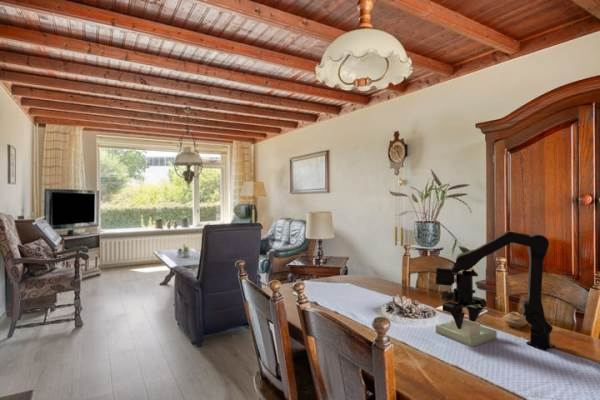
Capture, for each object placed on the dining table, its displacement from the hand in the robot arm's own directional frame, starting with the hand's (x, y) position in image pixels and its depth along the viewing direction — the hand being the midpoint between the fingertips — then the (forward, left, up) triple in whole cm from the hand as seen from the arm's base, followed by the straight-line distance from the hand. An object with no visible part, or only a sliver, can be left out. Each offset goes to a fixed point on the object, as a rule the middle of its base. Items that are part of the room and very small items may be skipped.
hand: (465, 327), depth 133 cm
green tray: (0, 0, -3) cm, 3 cm away
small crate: (0, 0, -2) cm, 2 cm away
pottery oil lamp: (-28, +3, -4) cm, 28 cm away
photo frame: (-25, -21, -4) cm, 33 cm away
